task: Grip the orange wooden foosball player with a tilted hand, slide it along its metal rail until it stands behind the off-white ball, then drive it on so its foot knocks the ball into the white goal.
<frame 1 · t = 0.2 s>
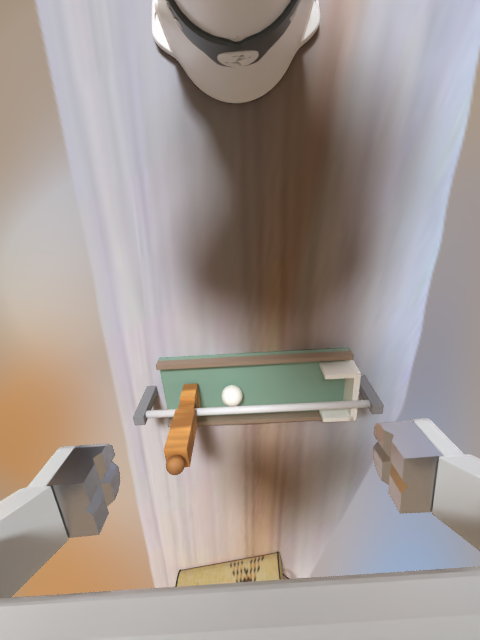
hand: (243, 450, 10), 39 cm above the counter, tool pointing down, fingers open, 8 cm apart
clutch purse: (232, 564, 78), on the counter
player: (184, 426, 47), point 10 cm above the counter, slide at 0.0 cm
pitch: (254, 384, 56), on the counter
ball: (232, 395, 53), point 3 cm above the counter, touching pitch
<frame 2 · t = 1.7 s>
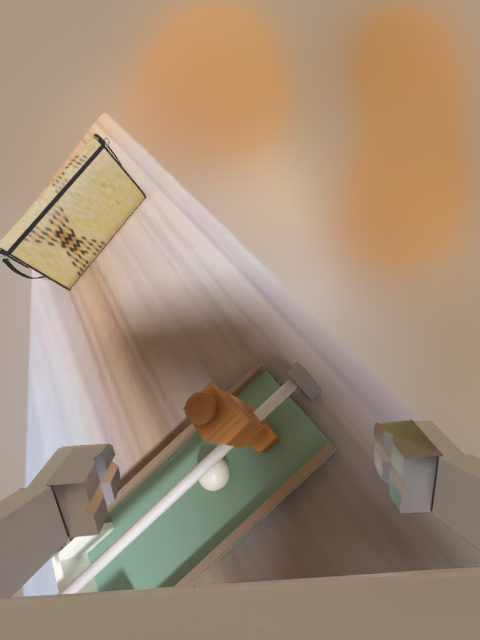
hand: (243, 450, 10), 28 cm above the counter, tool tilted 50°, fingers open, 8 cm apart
clutch purse: (103, 241, 68), on the counter
player: (235, 421, 30), point 10 cm above the counter, slide at 0.0 cm
pitch: (199, 495, 37), on the counter
ball: (213, 472, 35), point 3 cm above the counter, touching pitch
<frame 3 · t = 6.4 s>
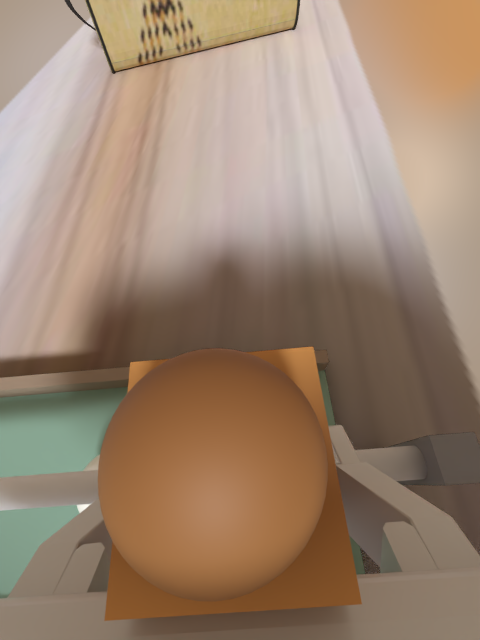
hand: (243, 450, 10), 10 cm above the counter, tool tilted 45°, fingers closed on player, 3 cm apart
clutch purse: (200, 46, 43), on the counter
player: (245, 472, 10), point 10 cm above the counter, slide at 0.0 cm, touching gripper
pitch: (68, 491, 18), on the counter
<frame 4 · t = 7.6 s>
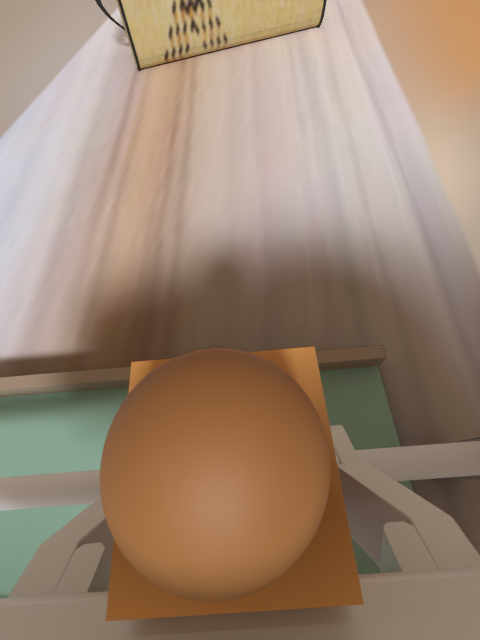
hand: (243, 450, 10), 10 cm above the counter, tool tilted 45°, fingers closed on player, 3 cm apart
clutch purse: (224, 44, 43), on the counter
player: (246, 472, 10), point 10 cm above the counter, slide at 3.4 cm, touching gripper
pitch: (124, 486, 18), on the counter
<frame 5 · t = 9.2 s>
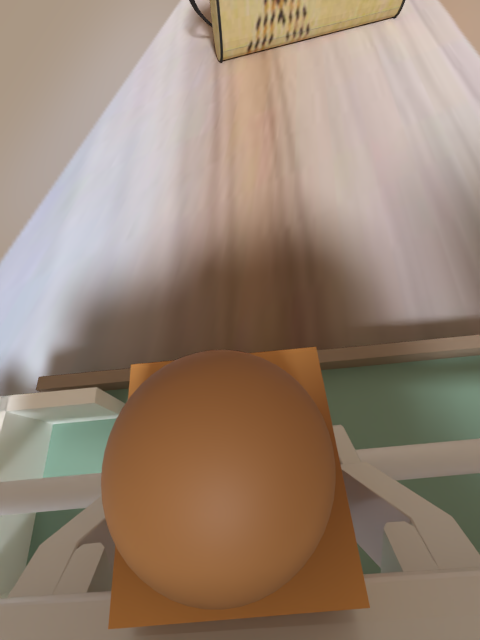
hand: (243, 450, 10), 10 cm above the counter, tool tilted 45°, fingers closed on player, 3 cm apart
clutch purse: (300, 35, 43), on the counter
player: (246, 474, 10), point 10 cm above the counter, slide at 14.5 cm, touching gripper
pitch: (314, 472, 18), on the counter
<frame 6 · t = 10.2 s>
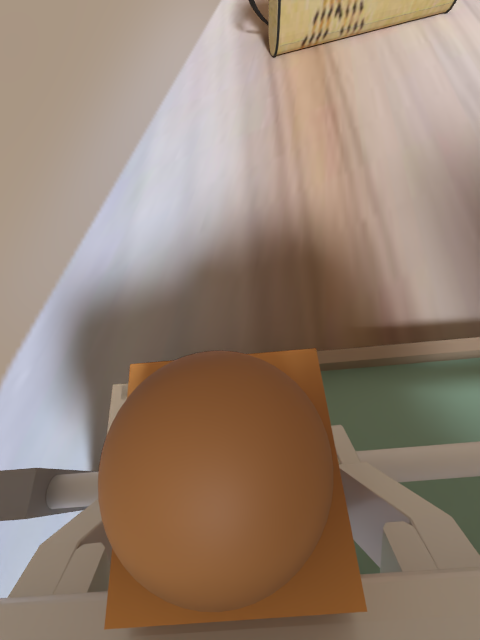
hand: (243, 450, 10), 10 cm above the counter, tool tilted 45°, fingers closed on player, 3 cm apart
clutch purse: (351, 30, 43), on the counter
player: (246, 474, 10), point 10 cm above the counter, slide at 20.8 cm, touching gripper
pitch: (424, 464, 18), on the counter
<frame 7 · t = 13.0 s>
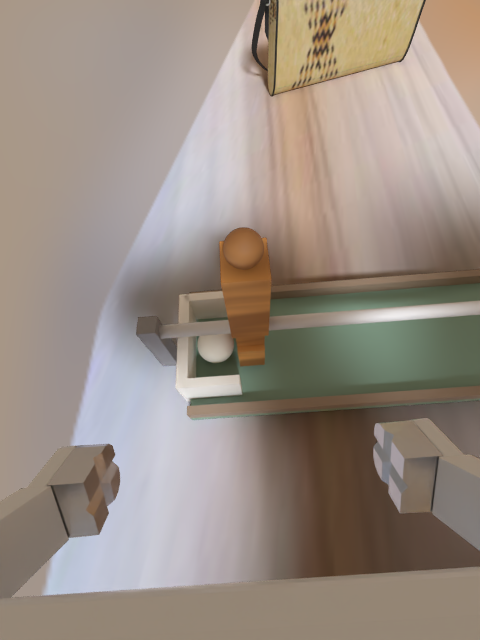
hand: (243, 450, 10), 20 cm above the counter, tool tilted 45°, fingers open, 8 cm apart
clutch purse: (329, 74, 57), on the counter
player: (247, 307, 24), point 10 cm above the counter, slide at 20.8 cm
pitch: (345, 345, 33), on the counter
ball: (215, 344, 31), point 3 cm above the counter, tilted 174°, touching pitch
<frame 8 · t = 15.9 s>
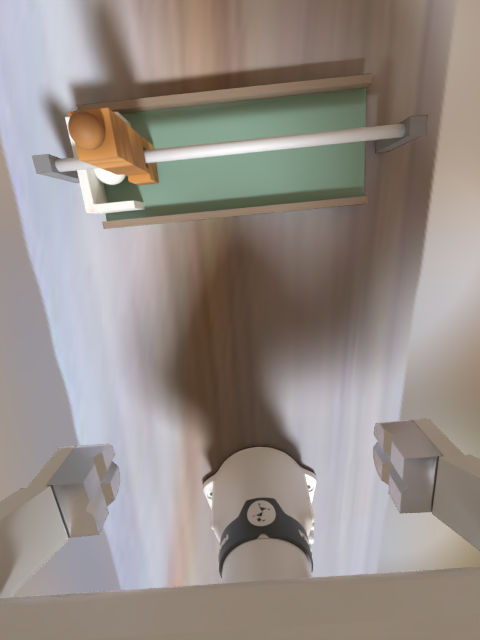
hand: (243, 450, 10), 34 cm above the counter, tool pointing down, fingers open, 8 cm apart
player: (121, 151, 29), point 10 cm above the counter, slide at 20.8 cm
pitch: (229, 160, 38), on the counter
ball: (109, 167, 36), point 3 cm above the counter, tilted 159°, touching pitch
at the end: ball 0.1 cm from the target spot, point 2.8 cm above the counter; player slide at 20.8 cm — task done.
